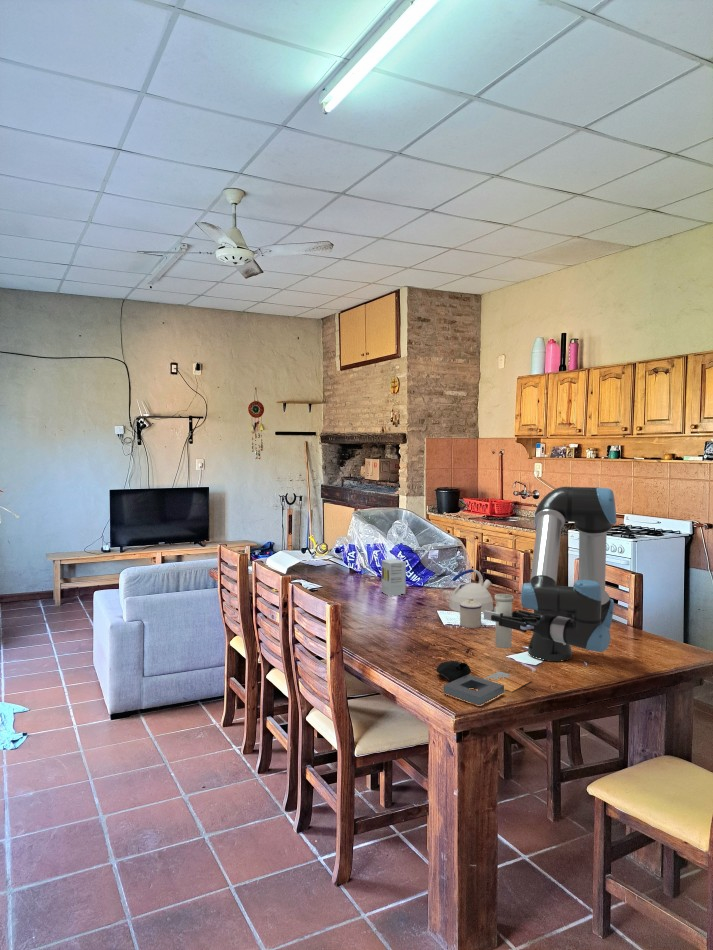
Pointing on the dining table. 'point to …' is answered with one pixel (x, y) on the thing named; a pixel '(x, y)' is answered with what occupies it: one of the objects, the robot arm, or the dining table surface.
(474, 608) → the teacup with lid
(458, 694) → the housing
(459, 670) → the rock
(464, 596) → the kettle
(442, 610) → the dining table surface
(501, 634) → the cream upright pillar
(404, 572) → the supplement box
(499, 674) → the mat
